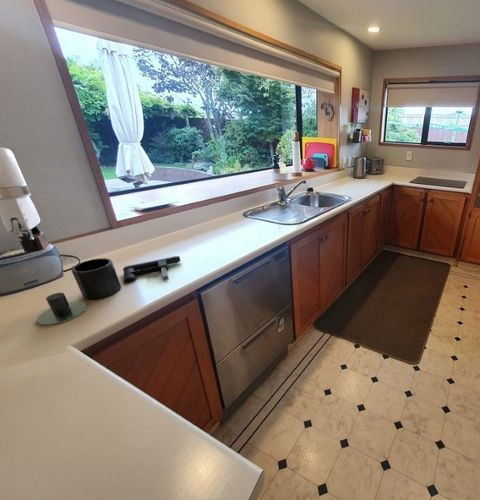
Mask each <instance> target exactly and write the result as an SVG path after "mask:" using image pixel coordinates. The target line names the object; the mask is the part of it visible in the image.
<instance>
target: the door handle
mask: <svg viewBox="0 0 480 500" xmlns="http://www.w3.org/2000/svg"><path fill="white" fill-rule="evenodd" d="M179 262H181V257H180V255H175V256H170V257H163V258H159V259H154V260H150V261H144V262H140V263H135V264H130V265H125V266H124V267H123V269H122V271H123V282H124V283H126V284H129V283H133V282H135V281H136V280H137V277H140V276H145V275H150V274H155V273H159V272H160V273H161V274H162V278H163V281H166V280H169V275H168V271H169V268H168V266H169V265H173V264H178V263H179Z"/></svg>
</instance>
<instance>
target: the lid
mask: <svg viewBox="0 0 480 500" xmlns="http://www.w3.org/2000/svg"><path fill="white" fill-rule="evenodd" d="M45 300H46V302H47V304H48V306H49V309H46V310H45V311H42V313H40V314H39V315H38V316H37V318H36V323H37V324H38V325H40V326H46V327H48V326H56V325H59V324H64V323H67V322H69V321H72V320H74V319H76V318H78V317H80V316H81V315H82V314H84V313H85V312H86V311H87V310H88V308H89V306H88V303H86V302H85V301H70V302H69V301H68V299H67V297H66V295H65V293H64V292H55V293H52V294H50V295H48V296H46V298H45Z"/></svg>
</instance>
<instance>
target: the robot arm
mask: <svg viewBox="0 0 480 500" xmlns="http://www.w3.org/2000/svg"><path fill="white" fill-rule="evenodd" d="M15 157H16V156H15V155H14V153H13V151H12V150H10V149H9V148H7V147H0V218H1V221H2V223H3V226H4V229H5V230H6V231H7V232H8V233H13V235H14V237H16V238H18V241H19V240H20V241H21V242H22V245H23V247H24V249H25V251H26V252H25V253H31V252H39V251H42V250H41V249H40V247H39V244H38V242H37V240H36V238H35V239H34V237H33V234H37V233H43V231H42V229H41V227H40V223H41V217H40V215H39V212H38V210H37V208H36V206H35V204H34V202H33V200H32V199H31V197H30V196H32V194H31V191H30V189H29V187H28V185H27V183H26V180H25V177H24V176H23V173H22V171H21V169H20V167H19V164H18V162H17V159H16V158H15ZM20 241H19V242H20ZM22 245H21V246H22ZM23 247H22V248H23ZM24 249H23V250H24Z"/></svg>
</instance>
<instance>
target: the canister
mask: <svg viewBox="0 0 480 500" xmlns="http://www.w3.org/2000/svg"><path fill="white" fill-rule="evenodd" d="M70 270H71V272H72V276H73V278H74V280H75V282H76V284H77V286H78V289H79V291H80V293H81V296H82V298H83V299H84V300H85V301H99V300H104V299H107V298H110V297H112V296H115V295H116V294H118V293H119V292H120V291H121V289H122V285H121V283H120V280H119V277H118V274H117V271H116V268H115V265H114V263H113V261H112V259H110V258H106V257H104V258H103V257H102V258H101V257H100V258H93V259H88V260H85V261H82V262H78V263H77V264H75V265H74V266H73V267H72V268H70Z"/></svg>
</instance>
